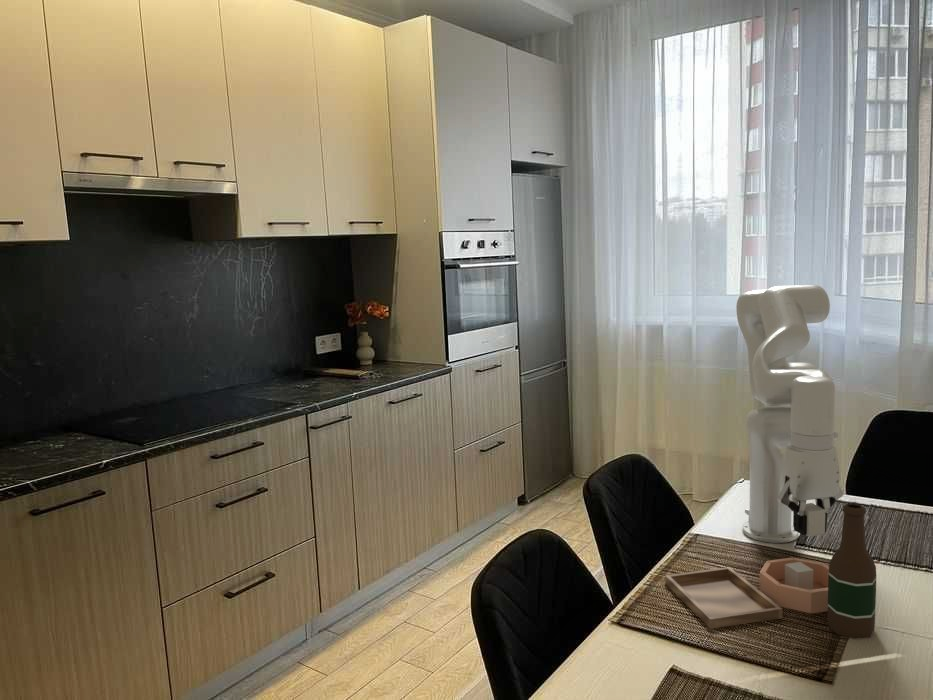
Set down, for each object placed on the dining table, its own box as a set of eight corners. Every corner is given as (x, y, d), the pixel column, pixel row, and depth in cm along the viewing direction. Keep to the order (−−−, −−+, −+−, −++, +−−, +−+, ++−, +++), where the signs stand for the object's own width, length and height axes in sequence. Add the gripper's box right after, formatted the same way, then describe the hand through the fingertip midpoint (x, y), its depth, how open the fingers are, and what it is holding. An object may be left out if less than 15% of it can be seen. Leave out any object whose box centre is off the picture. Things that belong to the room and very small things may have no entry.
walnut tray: (665, 586, 152) (665, 575, 152) (729, 577, 155) (729, 566, 155) (710, 631, 134) (710, 619, 134) (782, 620, 137) (782, 608, 136)
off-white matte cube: (784, 587, 148) (785, 564, 147) (799, 584, 149) (799, 561, 148) (797, 596, 144) (798, 572, 143) (812, 593, 145) (813, 569, 144)
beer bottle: (870, 623, 134) (874, 499, 131) (879, 645, 127) (883, 515, 124) (824, 617, 137) (827, 497, 134) (830, 639, 130) (833, 511, 126)
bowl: (747, 584, 151) (747, 563, 151) (810, 576, 154) (810, 555, 153) (790, 619, 137) (790, 595, 136) (858, 609, 139) (859, 585, 139)
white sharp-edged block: (795, 528, 142) (796, 504, 142) (811, 527, 143) (812, 502, 142) (808, 536, 139) (808, 511, 138) (824, 534, 139) (825, 509, 138)
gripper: (837, 432, 143) (834, 519, 146) (761, 439, 141) (760, 529, 143) (863, 441, 136) (861, 534, 139) (784, 449, 133) (782, 543, 136)
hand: (809, 530), depth 141 cm, fingers closed on white sharp-edged block, 3 cm apart
